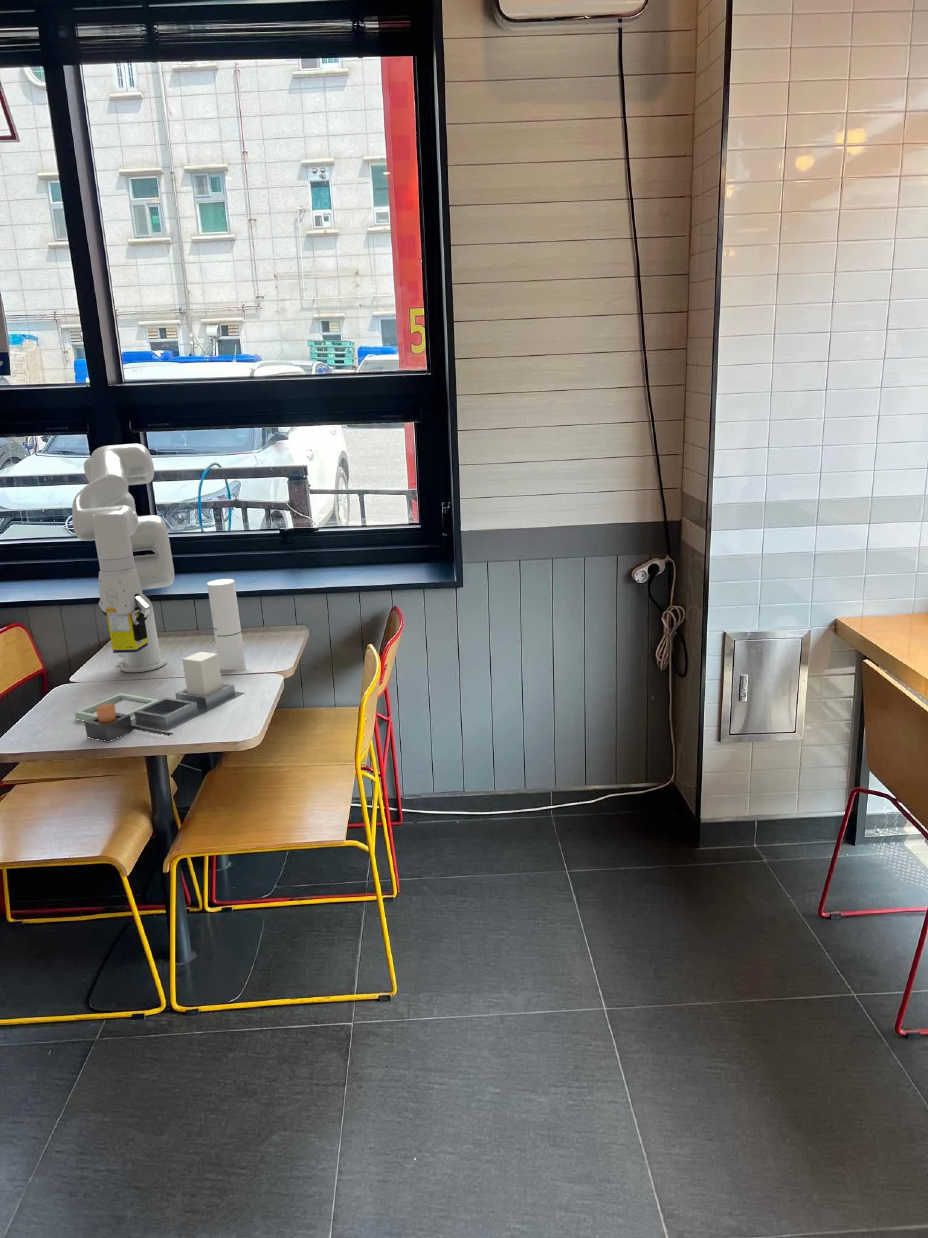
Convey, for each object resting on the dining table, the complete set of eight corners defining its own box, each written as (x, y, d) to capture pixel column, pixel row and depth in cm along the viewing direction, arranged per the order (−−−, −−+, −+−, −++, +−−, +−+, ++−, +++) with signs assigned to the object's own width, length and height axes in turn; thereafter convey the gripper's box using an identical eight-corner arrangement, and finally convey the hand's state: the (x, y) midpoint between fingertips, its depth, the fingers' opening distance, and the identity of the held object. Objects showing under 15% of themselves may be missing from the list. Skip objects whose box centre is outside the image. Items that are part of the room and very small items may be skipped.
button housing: (87, 738, 206) (84, 722, 205) (111, 727, 212) (109, 711, 211) (108, 742, 203) (105, 726, 201) (132, 731, 208) (130, 715, 207)
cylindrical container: (237, 663, 253) (225, 577, 247) (250, 668, 248) (239, 581, 242) (214, 670, 249) (202, 583, 242) (227, 675, 244) (215, 586, 237)
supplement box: (148, 645, 214) (141, 601, 211) (136, 653, 209) (129, 607, 206) (125, 645, 215) (117, 601, 212) (112, 653, 209) (104, 608, 206)
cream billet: (188, 701, 223) (182, 658, 220) (205, 692, 228) (200, 651, 225) (206, 704, 220) (200, 661, 217) (223, 695, 225) (217, 654, 222)
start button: (95, 725, 206) (92, 708, 205) (109, 719, 209) (106, 702, 208) (107, 727, 204) (104, 710, 203) (121, 721, 207) (118, 704, 206)
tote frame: (76, 720, 218) (74, 712, 217) (121, 700, 229) (120, 693, 229) (116, 728, 211) (114, 720, 210) (161, 707, 223) (160, 699, 222)
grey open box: (125, 727, 211) (123, 712, 210) (204, 690, 233) (202, 677, 232) (168, 736, 204) (166, 720, 203) (245, 697, 226) (244, 683, 225)
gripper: (78, 566, 208) (91, 639, 212) (129, 570, 199) (142, 646, 204) (105, 559, 214) (117, 630, 218) (156, 563, 205) (167, 636, 210)
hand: (129, 637), depth 211 cm, fingers closed on supplement box, 7 cm apart
